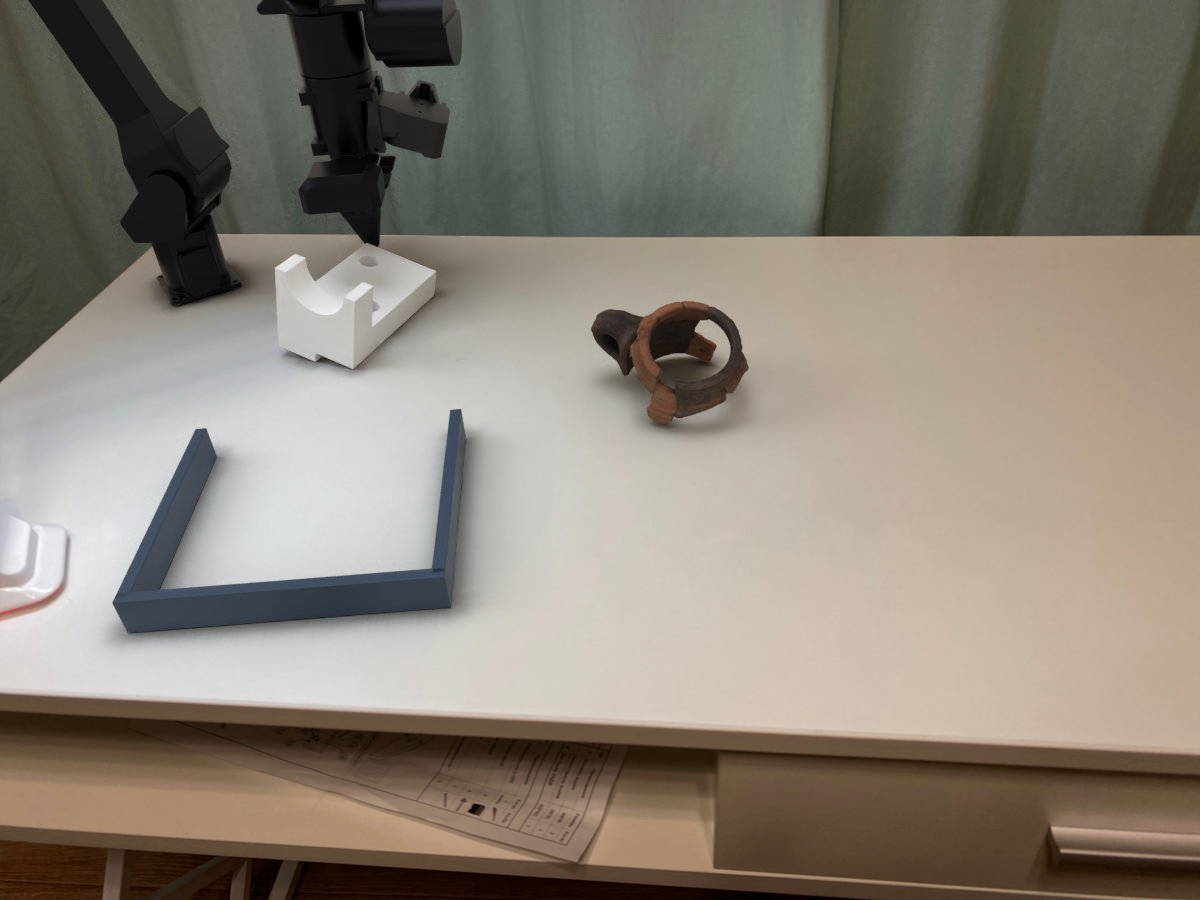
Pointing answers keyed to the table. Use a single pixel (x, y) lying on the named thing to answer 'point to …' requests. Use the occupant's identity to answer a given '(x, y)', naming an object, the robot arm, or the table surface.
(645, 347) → the pottery mug
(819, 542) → the table surface
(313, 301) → the bracket
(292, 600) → the open blue frame
